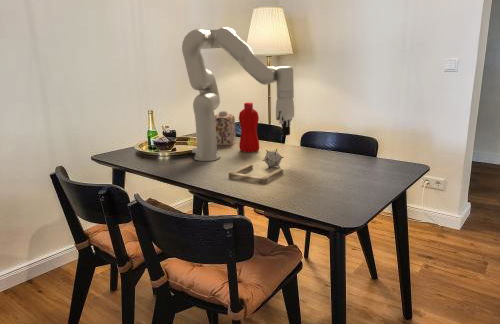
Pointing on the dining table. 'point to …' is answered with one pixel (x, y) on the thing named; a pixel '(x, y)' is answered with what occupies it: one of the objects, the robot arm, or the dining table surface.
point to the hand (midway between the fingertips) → (286, 134)
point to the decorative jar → (225, 128)
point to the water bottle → (248, 129)
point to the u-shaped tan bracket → (240, 175)
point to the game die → (272, 158)
